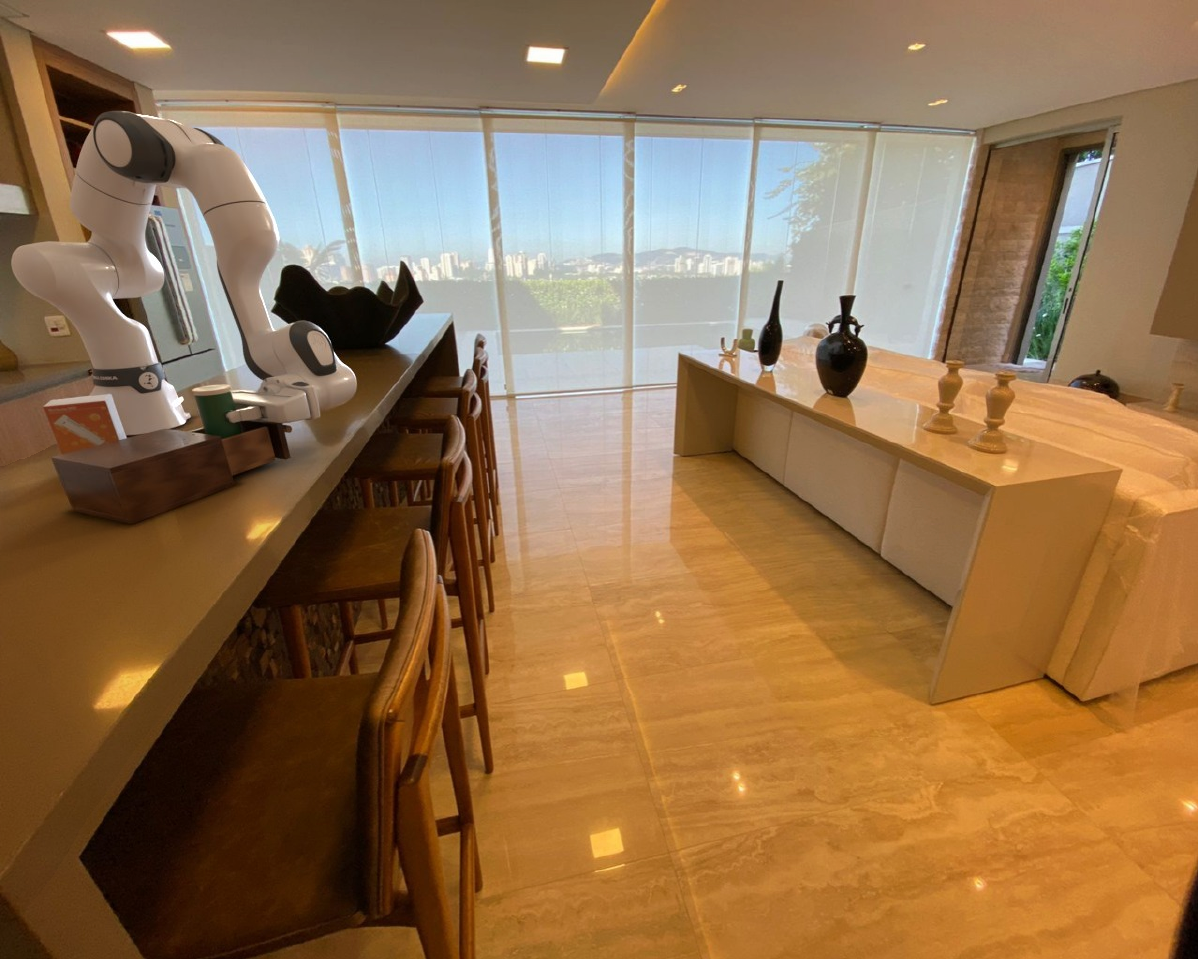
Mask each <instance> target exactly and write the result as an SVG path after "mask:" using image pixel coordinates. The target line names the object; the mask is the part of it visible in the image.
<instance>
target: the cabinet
mask: <svg viewBox="0 0 1198 959" xmlns="http://www.w3.org/2000/svg"><path fill="white" fill-rule="evenodd" d="M50 459H51V461H52V464H53V466H54V468H55V471H56V473H57V476H58V478H59V480H60V483H61V486H62V488H63V490H64V493H65V495H66V497H67V500H68V502H69V504H70V506H71V509H72V511H73V512H76V513H79V514H80V513H81V514H85V515H88V516H89V515H90V516H93V517H96V518H97V517H98V518H102V519H105V520H109V521H110V520H111V521H114V522H118V523H123V524H127V525H134V524H136V523H139V522H141V521H144V520H147V519H149V518H153V517H155V516H157V515H160V514H163V513H166V512H168V511H171V510H173V509H177V508H178V507H181V506H183V505H186V504H190V503H192V502H194V501H197V500H200V499H202V498H205V497H207V496H210V495H212V494H216V493H219V492H220V491H223V490H226V489H229V488H231V487H234V486H235V485H236V484H235V481H234V478H233V476H232V474H231V470H230V467H229V463H228V460H227V456H226V453H225V449H224V446H223V442H222V439H221V436H215V435H208V434H201V433H194V432H187V431H186V430H179V429H173V428H170V429H161V430H157V431H153V432H149V433H145V434H137V435H133V436H130V437H126V439H122V440H118V441H114V442H110V443H106V444H102V445H98V446H94V447H90V448H86V449H82V450H78V451H74V452H70V453H66V454H58V455H55V456H51V457H50Z"/></svg>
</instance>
